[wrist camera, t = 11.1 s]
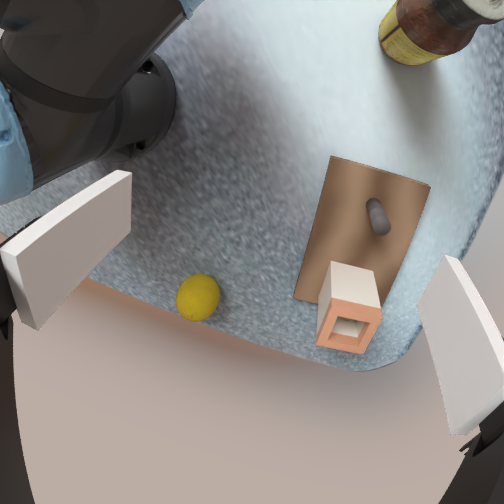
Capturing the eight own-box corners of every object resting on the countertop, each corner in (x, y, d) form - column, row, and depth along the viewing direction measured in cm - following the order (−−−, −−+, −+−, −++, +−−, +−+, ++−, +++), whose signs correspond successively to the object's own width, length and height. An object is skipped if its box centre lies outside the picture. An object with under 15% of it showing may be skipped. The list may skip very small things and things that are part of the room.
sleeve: (318, 296, 41) (315, 345, 34) (330, 260, 39) (331, 306, 31) (358, 305, 41) (362, 354, 33) (373, 271, 38) (382, 317, 30)
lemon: (181, 273, 46) (158, 307, 39) (210, 256, 43) (189, 291, 36) (205, 301, 47) (187, 337, 40) (234, 287, 45) (218, 324, 38)
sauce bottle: (436, 62, 26) (544, 52, 9) (386, 70, 28) (462, 53, 11) (417, 9, 23) (505, -49, 6) (366, 15, 25) (415, -57, 8)
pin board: (293, 292, 43) (288, 328, 37) (330, 155, 34) (333, 171, 28) (375, 311, 42) (381, 348, 36) (427, 184, 33) (448, 206, 26)
